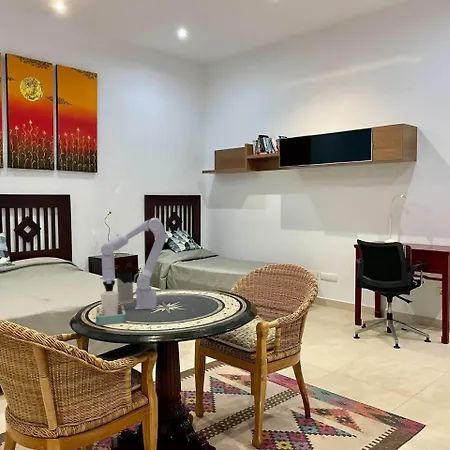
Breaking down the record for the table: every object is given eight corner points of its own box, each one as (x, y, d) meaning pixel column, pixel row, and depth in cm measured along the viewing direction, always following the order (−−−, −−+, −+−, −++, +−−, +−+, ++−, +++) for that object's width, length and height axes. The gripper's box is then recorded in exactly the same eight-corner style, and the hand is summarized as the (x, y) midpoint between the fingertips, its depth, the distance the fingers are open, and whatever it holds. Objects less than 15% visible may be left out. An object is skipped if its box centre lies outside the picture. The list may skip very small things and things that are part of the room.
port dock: (125, 317, 198) (125, 310, 198) (126, 322, 190) (125, 314, 190) (96, 320, 195) (95, 312, 195) (96, 325, 187) (95, 317, 187)
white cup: (101, 317, 201) (100, 295, 201) (102, 312, 209) (101, 291, 208) (119, 315, 203) (118, 294, 202) (119, 311, 210) (118, 290, 210)
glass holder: (114, 301, 232) (113, 273, 231) (139, 297, 241) (138, 269, 240) (121, 304, 225) (120, 275, 224) (146, 300, 234) (145, 271, 233)
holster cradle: (123, 311, 211) (123, 304, 211) (124, 315, 203) (124, 308, 203) (97, 313, 208) (96, 307, 208) (96, 317, 200) (96, 311, 200)
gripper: (99, 266, 219) (100, 293, 220) (99, 270, 205) (100, 299, 206) (114, 265, 221) (115, 292, 222) (115, 269, 207) (116, 298, 208)
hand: (109, 296), depth 214 cm, fingers closed
